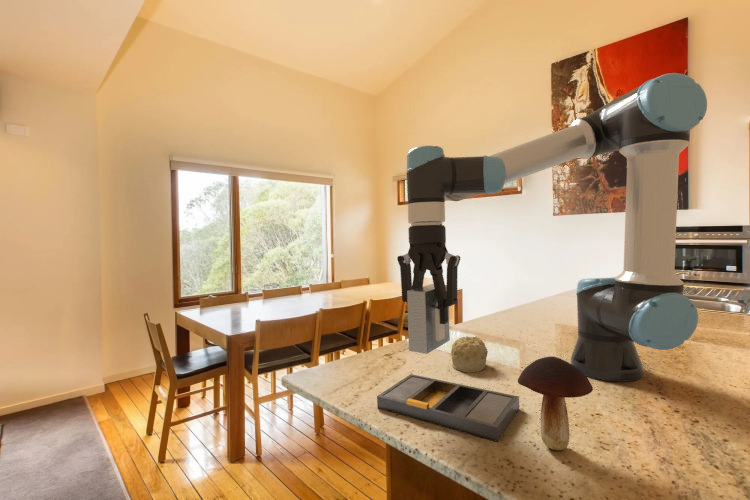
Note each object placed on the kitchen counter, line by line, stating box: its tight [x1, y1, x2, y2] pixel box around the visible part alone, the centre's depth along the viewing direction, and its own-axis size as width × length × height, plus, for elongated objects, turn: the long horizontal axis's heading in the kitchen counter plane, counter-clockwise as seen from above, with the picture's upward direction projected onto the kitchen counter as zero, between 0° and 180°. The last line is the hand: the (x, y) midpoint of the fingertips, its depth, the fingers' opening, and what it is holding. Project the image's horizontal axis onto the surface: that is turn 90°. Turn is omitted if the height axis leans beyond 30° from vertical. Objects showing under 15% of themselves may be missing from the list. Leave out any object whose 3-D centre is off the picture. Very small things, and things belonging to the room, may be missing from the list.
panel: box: [406, 283, 451, 355], centre depth 78 cm, size 4×10×12 cm, turn 144°
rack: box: [376, 373, 520, 443], centre depth 76 cm, size 25×14×3 cm, turn 54°
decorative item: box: [450, 335, 489, 373], centre depth 100 cm, size 10×10×10 cm
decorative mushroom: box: [517, 356, 594, 451], centre depth 61 cm, size 11×11×15 cm
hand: (429, 337), depth 78 cm, fingers closed on panel, 4 cm apart
